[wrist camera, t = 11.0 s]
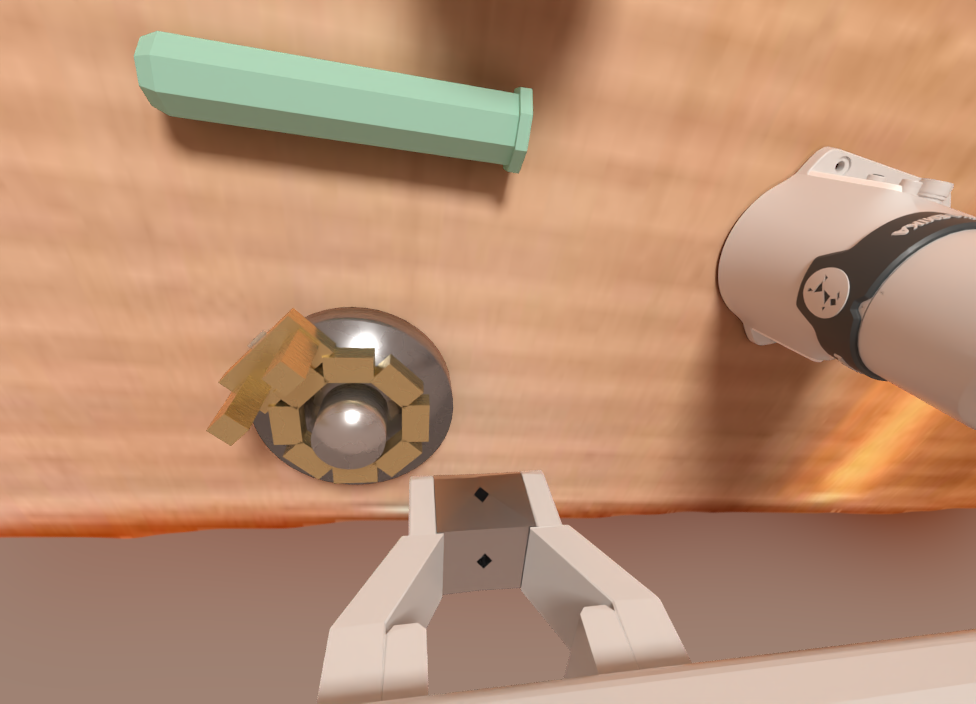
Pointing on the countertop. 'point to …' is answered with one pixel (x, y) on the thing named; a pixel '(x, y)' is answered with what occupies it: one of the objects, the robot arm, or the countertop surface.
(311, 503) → the countertop surface
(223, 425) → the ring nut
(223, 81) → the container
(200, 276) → the countertop surface
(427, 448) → the grey round piece
